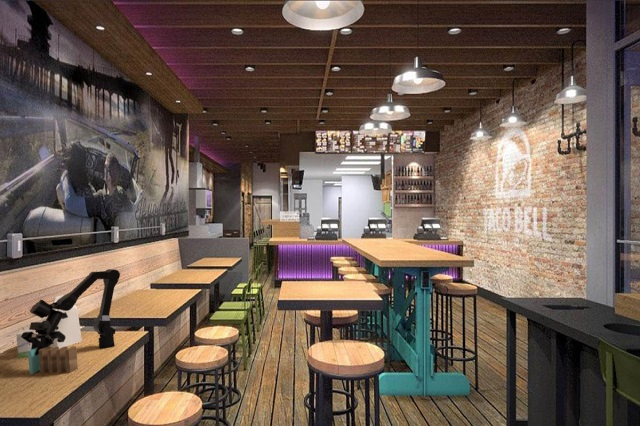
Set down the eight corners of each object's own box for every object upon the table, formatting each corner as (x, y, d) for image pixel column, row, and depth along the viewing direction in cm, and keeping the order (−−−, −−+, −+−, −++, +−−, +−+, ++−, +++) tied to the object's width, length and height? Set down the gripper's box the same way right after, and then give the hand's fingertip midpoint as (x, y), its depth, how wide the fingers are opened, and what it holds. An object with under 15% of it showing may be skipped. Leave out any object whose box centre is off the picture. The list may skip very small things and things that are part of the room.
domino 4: (58, 372, 180) (56, 349, 180) (65, 368, 184) (64, 346, 184) (61, 372, 180) (59, 349, 179) (69, 368, 184) (67, 346, 184)
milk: (71, 339, 231) (68, 292, 231) (81, 341, 225) (78, 294, 224) (48, 345, 222) (44, 297, 221) (57, 348, 215) (53, 298, 215)
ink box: (29, 356, 205) (27, 332, 205) (17, 358, 204) (15, 334, 204) (35, 351, 213) (33, 328, 213) (23, 353, 212) (22, 330, 212)
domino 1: (29, 373, 181) (27, 351, 181) (38, 369, 185) (36, 347, 185) (33, 373, 181) (30, 351, 181) (41, 369, 185) (39, 347, 185)
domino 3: (49, 372, 181) (47, 350, 180) (57, 368, 185) (55, 346, 185) (52, 372, 180) (50, 350, 180) (60, 368, 185) (58, 346, 185)
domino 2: (40, 372, 181) (38, 350, 181) (48, 368, 186) (46, 346, 186) (43, 372, 181) (41, 350, 181) (51, 368, 185) (50, 346, 185)
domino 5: (67, 372, 179) (65, 349, 179) (74, 368, 183) (72, 346, 183) (70, 372, 179) (68, 349, 179) (77, 368, 183) (76, 346, 183)
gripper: (22, 314, 189) (2, 346, 179) (58, 313, 186) (40, 346, 175) (38, 326, 197) (20, 358, 186) (73, 325, 194) (56, 357, 183)
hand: (33, 354), depth 183 cm, fingers closed
